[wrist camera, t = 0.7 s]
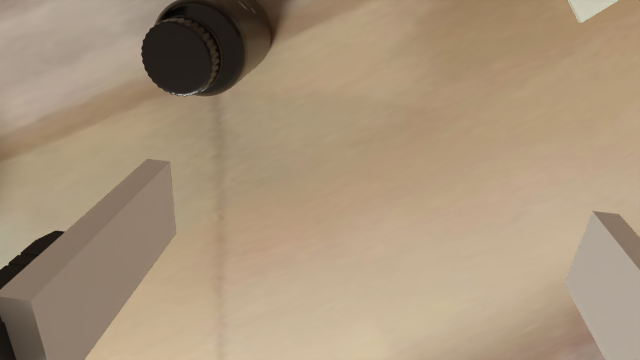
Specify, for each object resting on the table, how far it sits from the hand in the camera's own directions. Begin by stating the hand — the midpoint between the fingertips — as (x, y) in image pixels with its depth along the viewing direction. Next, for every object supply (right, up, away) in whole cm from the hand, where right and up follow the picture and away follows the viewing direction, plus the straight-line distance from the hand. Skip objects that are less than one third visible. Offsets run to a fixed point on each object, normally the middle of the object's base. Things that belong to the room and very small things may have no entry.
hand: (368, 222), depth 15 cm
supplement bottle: (-9, +14, +25) cm, 30 cm away
